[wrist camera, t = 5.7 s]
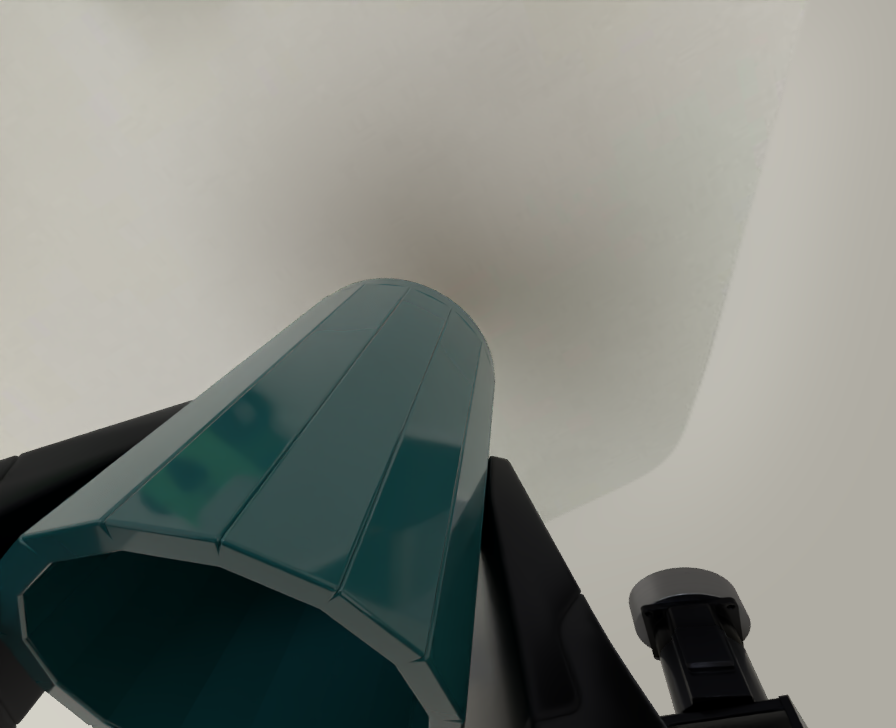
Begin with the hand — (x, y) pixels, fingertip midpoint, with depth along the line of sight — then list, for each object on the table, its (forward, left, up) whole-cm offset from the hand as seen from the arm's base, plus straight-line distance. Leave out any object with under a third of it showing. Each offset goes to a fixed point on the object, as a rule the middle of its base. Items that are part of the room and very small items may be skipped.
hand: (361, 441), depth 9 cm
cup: (0, 0, -3) cm, 3 cm away
